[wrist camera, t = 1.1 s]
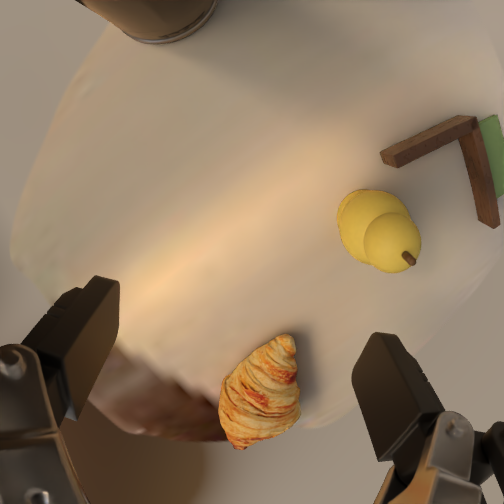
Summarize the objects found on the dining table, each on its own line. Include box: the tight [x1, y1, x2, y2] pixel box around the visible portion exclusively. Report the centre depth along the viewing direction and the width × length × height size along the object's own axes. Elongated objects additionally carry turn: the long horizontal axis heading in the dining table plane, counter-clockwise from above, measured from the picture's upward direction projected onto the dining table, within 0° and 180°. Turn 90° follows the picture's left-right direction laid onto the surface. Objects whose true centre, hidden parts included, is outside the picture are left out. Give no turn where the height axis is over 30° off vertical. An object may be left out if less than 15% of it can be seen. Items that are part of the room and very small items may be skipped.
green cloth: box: [478, 115, 504, 199], centre depth 26 cm, size 9×5×1 cm, turn 29°
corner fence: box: [380, 115, 500, 229], centre depth 26 cm, size 12×11×3 cm
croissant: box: [218, 334, 301, 450], centre depth 35 cm, size 21×10×8 cm, turn 166°
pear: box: [337, 190, 421, 273], centre depth 24 cm, size 6×6×11 cm
